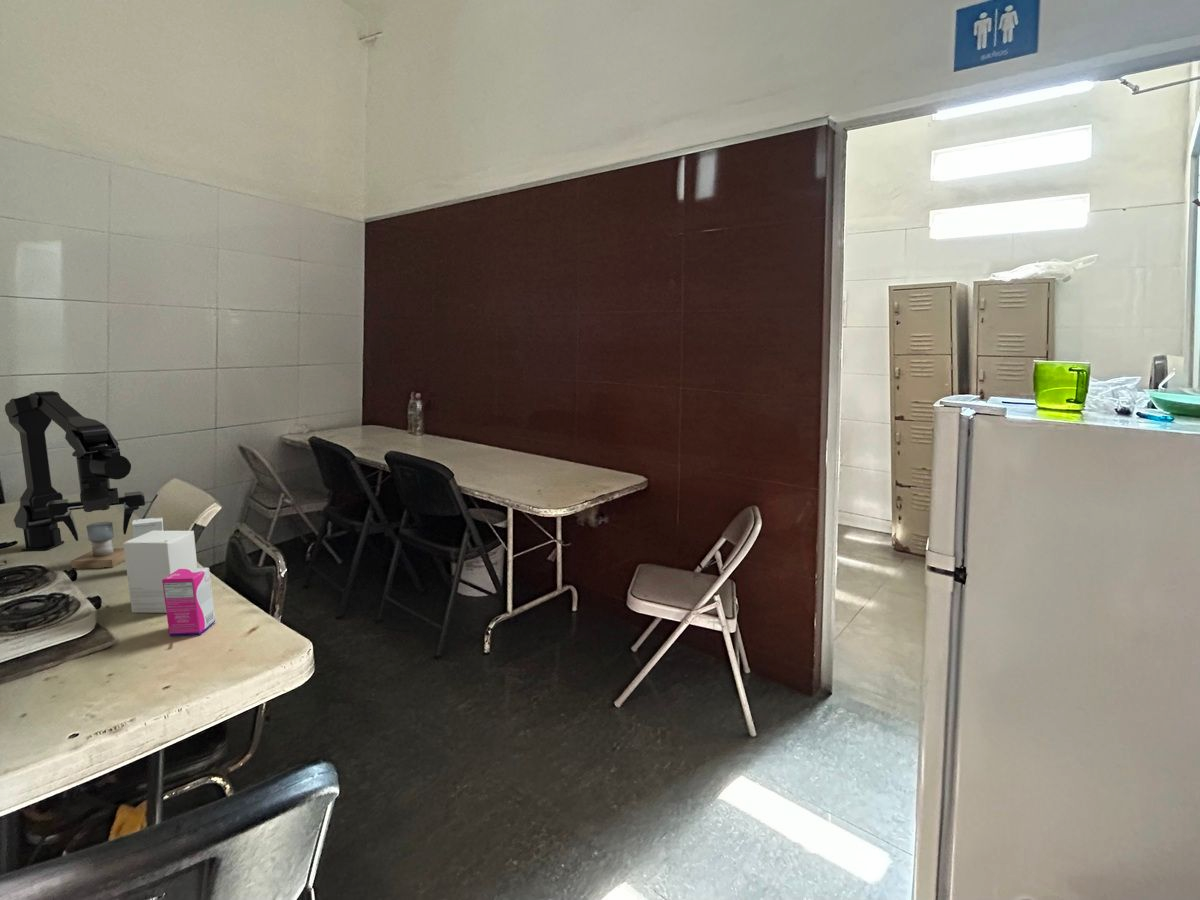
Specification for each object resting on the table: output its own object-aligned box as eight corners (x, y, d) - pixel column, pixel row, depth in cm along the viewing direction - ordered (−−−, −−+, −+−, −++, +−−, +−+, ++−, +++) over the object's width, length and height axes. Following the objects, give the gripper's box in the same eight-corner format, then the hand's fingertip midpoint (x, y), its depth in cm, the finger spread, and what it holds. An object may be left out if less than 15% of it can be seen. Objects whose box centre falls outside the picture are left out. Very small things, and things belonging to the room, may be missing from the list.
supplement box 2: (185, 623, 123) (179, 567, 121) (216, 622, 123) (211, 567, 121) (167, 636, 117) (161, 578, 115) (200, 636, 117) (194, 578, 115)
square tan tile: (71, 568, 151) (68, 544, 150) (96, 556, 159) (93, 533, 158) (112, 567, 152) (109, 543, 151) (134, 555, 161) (132, 532, 160)
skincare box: (135, 573, 148) (129, 524, 146) (136, 568, 152) (131, 519, 150) (166, 569, 151) (161, 520, 149) (167, 563, 155) (162, 516, 153)
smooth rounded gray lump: (88, 537, 155) (86, 523, 155) (114, 534, 158) (112, 520, 158) (88, 542, 151) (86, 528, 151) (114, 538, 154) (112, 525, 154)
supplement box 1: (202, 596, 136) (196, 529, 133) (174, 613, 127) (167, 542, 124) (160, 595, 136) (153, 529, 133) (129, 613, 127) (121, 542, 124)
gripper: (39, 486, 140) (49, 553, 143) (142, 476, 151) (149, 538, 154) (43, 477, 149) (52, 540, 151) (140, 469, 160) (147, 528, 163)
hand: (101, 537), depth 155 cm, fingers open, 9 cm apart
